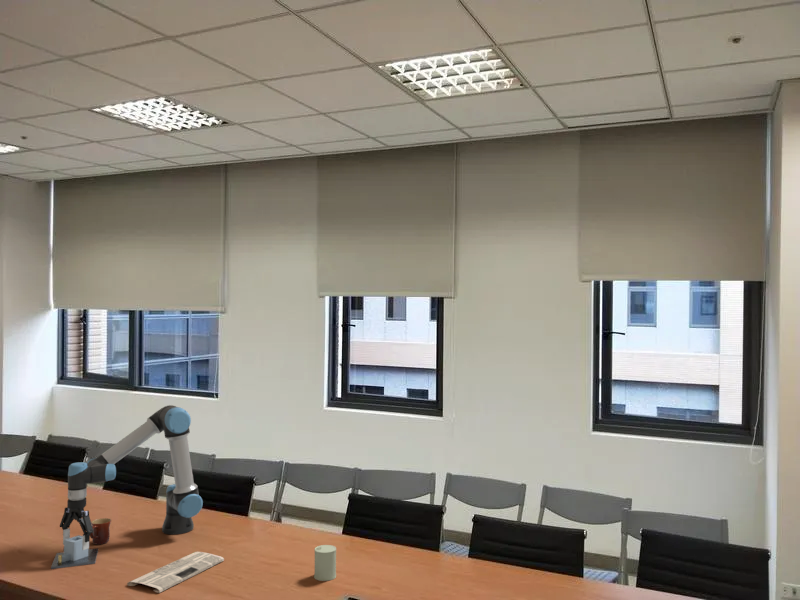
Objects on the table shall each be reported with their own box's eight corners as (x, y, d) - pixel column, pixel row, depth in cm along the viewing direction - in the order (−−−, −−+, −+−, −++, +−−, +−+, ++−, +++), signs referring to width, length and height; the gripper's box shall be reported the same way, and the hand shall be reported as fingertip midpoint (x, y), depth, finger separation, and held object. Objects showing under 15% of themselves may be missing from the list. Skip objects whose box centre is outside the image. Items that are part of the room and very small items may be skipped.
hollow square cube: (78, 553, 283) (78, 535, 283) (88, 555, 280) (88, 537, 280) (53, 561, 273) (54, 543, 273) (63, 564, 270) (64, 545, 270)
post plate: (98, 550, 289) (98, 536, 289) (95, 563, 273) (95, 548, 274) (56, 555, 283) (57, 540, 283) (51, 569, 267) (51, 553, 267)
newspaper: (159, 595, 243) (159, 588, 243) (124, 586, 252) (124, 579, 252) (224, 562, 277) (224, 556, 277) (190, 555, 285) (190, 549, 285)
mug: (98, 538, 305) (99, 517, 305) (114, 540, 303) (115, 518, 303) (81, 547, 293) (82, 525, 293) (98, 549, 291) (98, 526, 291)
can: (314, 572, 265) (314, 543, 265) (336, 571, 266) (336, 543, 266) (313, 581, 256) (313, 551, 256) (336, 580, 257) (336, 551, 257)
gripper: (51, 496, 282) (50, 544, 281) (87, 504, 270) (86, 554, 269) (67, 492, 288) (66, 539, 288) (102, 500, 277) (101, 548, 276)
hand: (75, 546), depth 278 cm, fingers open, 13 cm apart
